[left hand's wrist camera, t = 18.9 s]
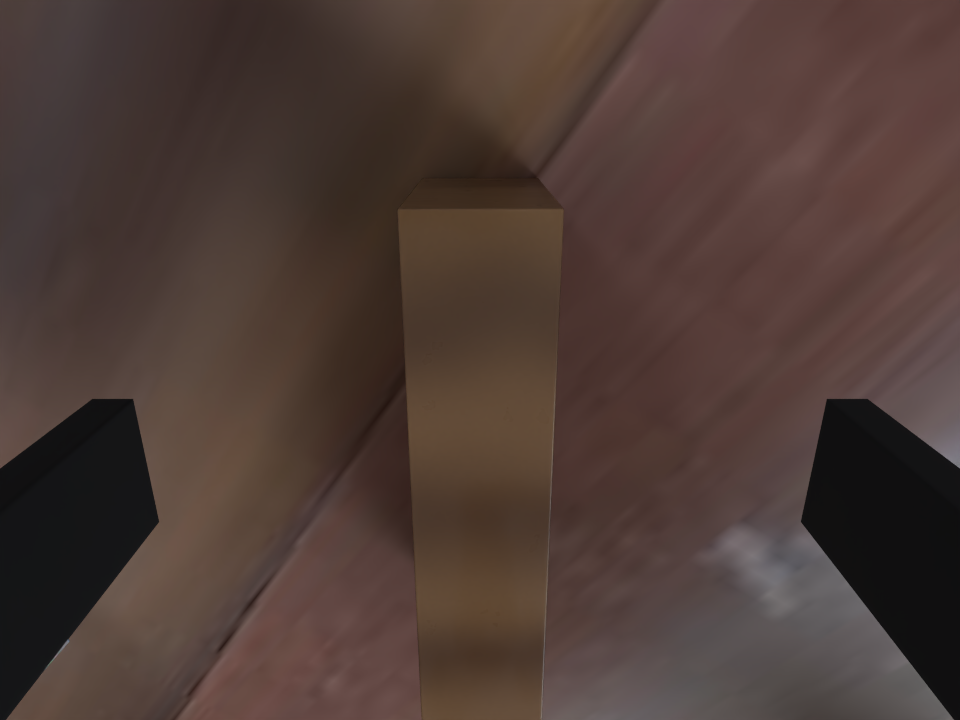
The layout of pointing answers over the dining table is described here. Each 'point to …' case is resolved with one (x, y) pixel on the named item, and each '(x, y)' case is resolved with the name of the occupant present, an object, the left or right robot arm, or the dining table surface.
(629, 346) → the dining table surface
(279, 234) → the dining table surface
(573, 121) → the dining table surface
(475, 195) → the box
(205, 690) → the dining table surface
